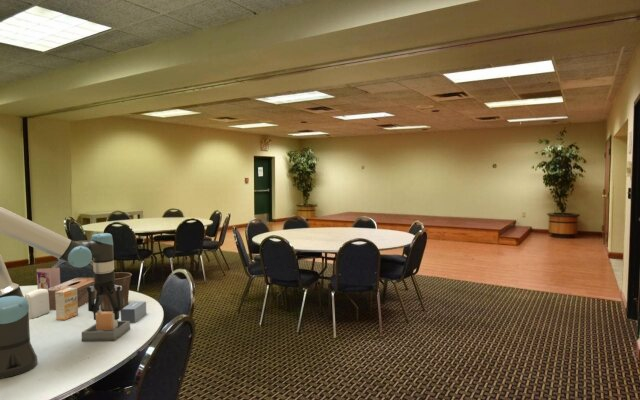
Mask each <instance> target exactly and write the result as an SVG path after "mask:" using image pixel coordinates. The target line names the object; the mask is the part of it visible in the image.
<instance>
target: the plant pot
mask: <svg viewBox="0 0 640 400" xmlns="http://www.w3.org/2000/svg"><path fill="white" fill-rule="evenodd" d="M132 276H133V274H132V273H131V272H126V271H125V272H121V271H120V272H119V271H117V272H115V284H116V285H118V286H121V285H122V286H123V288H122V296H123V305H124V307H126V306H127V305H129V294H130V285H131V277H132ZM113 291H114V295H115V298H116V301H117V297H116V291H115V288H114V290H113ZM110 294H111V293H110ZM99 308H100V311H102V312H103V311H113V308H112V305H111V303H110V300H109V297H107V295H105V294H103V296H102V300H101V303H100V307H99Z"/></svg>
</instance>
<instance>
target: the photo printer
mask: <svg viewBox="0 0 640 400" xmlns="http://www.w3.org/2000/svg"><path fill="white" fill-rule="evenodd" d="M24 298H26V299H27V301H28V305H29V310H28V311H29V320H32V319H34V318H38V317H40V316H43V315H45V314H48V313H50V311H51V310H50V308H49V293H48V290H47V289H38V288H37V289H34V290H30V291H29V292H27V293H26V294H25V295H24Z"/></svg>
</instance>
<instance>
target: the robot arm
mask: <svg viewBox="0 0 640 400" xmlns="http://www.w3.org/2000/svg"><path fill="white" fill-rule="evenodd" d="M0 234H1V235H4V236H7V237H9V238H10V239H11V238H12V239H14V240H16V241H18V242H21V243H22V244H25V245H27V246H30V247H32V248H34V249H37V250H39V251H40V252H44V253H45V254H47V255H50V256H53V257H54V258H56V259H57V260H58V262H59V263H68V264H69V265H70V266H72V267H75V268H83V267H86V266H88V265H89V264H90V263H91V261H92V262H93V263H92V264H93V265H92V267H93V269H92V270H93V272H94V273H93V278H94V282H95V284H94V286H90V287H88V288H87V291H88V303H87V311H88V312H92V313H93V321H95V324H96V329H97V322H96V315H98V314H100V313H101V312H102V310H101V307H100V303H101V300H102V296H103V294H105V295H107V297H109V300H110V303H111V305H112V308H113V311H114V312H112V325H113V329H115V328H116V327H117V326H118V321H119V319H120V312H121V310H122V309H123V308H124V305H123V296H122V288H123V286H122V285H121V286H118V285H116V284H115V273H116V272H115V259H114V240H113V235H112V234H111V233H108V232H103V233H102V232H101V233H94V234H92V235H91V239H87V240H77V241H75V240H72V239H70V238H67V237H66V236H63V235H61V234H60V233H57V232H55V231H54V230H51V229H49V228H47V227H44V226H43V225H40V224H38V223H36V222H34V221H32V220H30V219H27V218H25V217H23V216H22V215H19V214H17V213H14V212H13V211H10V210H9V209H7V208H4V207H2V206H0ZM6 266H7V265H6V264H5V261H4V259H3V256H2V254H1V253H0V379H3V378H2V377H6V378H10V376H11V377H15V376H18V375H20V374H23V372H24V373H26V372H28V371H30V370H32V369H33V368H35V367H36V366H37V365H38V355H37V353H36V352H35V350H34V347H33V345H32V342H31V331H30V319H29V311H28V310H29V305H28V301H27V299H26V298H25V295H24V294H23V291H22V290H21V287H20V285H19V284H18V283H15V282H13V281H12V278H11V276H10V274H9V271H8V269H7V267H6ZM114 288H115V291H116V297H117V301H116V298H115V295H114V291H113V290H114ZM95 289H96V291H97V294H96V299H95V291H94V290H95ZM110 293H111V294H110ZM17 374H18V375H17ZM14 375H15V376H14Z"/></svg>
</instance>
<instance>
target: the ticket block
mask: <svg viewBox="0 0 640 400" xmlns="http://www.w3.org/2000/svg"><path fill="white" fill-rule="evenodd" d="M146 315H147V301H145V300H144V301H143V300H142V301H140V300H139V301H132V302H130V303H128V305H127V306H126V307H124V308H123V309H122V310H120V321H130V324H135V323H136V322H138V321H139V320H140V319H142V318H143V317H145V316H146Z"/></svg>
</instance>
